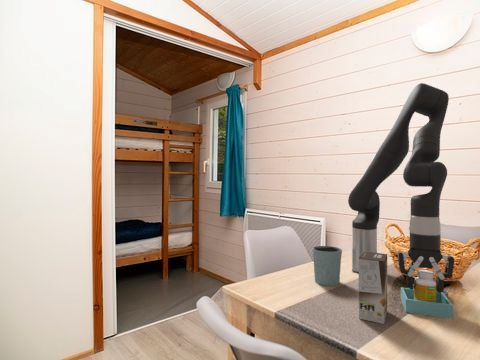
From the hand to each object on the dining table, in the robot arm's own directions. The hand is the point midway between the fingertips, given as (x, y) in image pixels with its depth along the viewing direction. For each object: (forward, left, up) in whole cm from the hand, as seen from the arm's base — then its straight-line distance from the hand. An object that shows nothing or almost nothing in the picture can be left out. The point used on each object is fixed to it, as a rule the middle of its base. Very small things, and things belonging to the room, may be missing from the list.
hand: (424, 290), depth 85 cm
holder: (+3, +11, -5) cm, 13 cm away
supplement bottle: (0, 0, -5) cm, 5 cm away
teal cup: (-28, +13, -5) cm, 31 cm away
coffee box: (-14, -10, -5) cm, 18 cm away
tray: (0, 0, -5) cm, 5 cm away
